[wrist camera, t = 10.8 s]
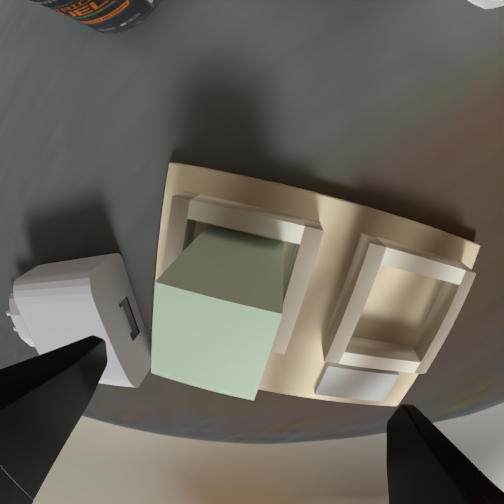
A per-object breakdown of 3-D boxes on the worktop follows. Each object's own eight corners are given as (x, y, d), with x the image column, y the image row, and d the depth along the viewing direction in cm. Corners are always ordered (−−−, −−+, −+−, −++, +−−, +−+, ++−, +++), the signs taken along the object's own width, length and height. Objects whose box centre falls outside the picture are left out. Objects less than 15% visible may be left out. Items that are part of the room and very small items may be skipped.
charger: (9, 267, 22) (122, 249, 20) (42, 347, 25) (157, 355, 23) (-23, 286, 18) (85, 274, 15) (17, 372, 20) (135, 393, 18)
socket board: (474, 242, 17) (495, 255, 14) (394, 400, 22) (402, 422, 19) (174, 162, 17) (155, 165, 15) (155, 354, 22) (142, 376, 20)
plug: (283, 242, 17) (282, 314, 10) (265, 308, 19) (253, 400, 11) (208, 225, 18) (154, 281, 10) (197, 291, 19) (151, 372, 12)
